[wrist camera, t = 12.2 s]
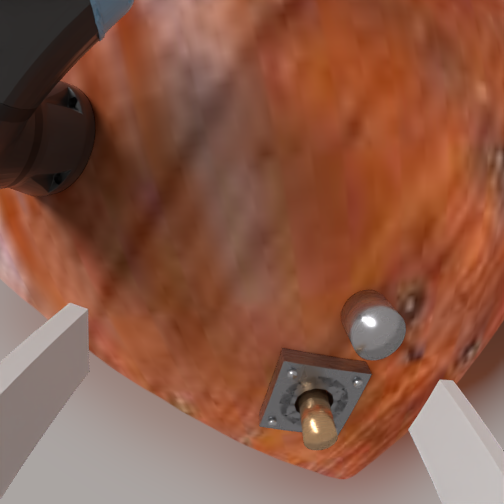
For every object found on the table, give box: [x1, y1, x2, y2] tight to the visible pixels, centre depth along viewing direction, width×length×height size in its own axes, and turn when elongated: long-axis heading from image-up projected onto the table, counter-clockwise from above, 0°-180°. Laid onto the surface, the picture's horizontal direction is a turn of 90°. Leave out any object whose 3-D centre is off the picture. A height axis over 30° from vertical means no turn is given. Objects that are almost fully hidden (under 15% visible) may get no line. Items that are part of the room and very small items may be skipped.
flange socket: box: [259, 348, 372, 435], centre depth 40 cm, size 12×12×4 cm
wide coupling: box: [341, 290, 406, 360], centre depth 35 cm, size 6×6×6 cm
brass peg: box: [298, 388, 338, 450], centre depth 37 cm, size 4×4×10 cm
